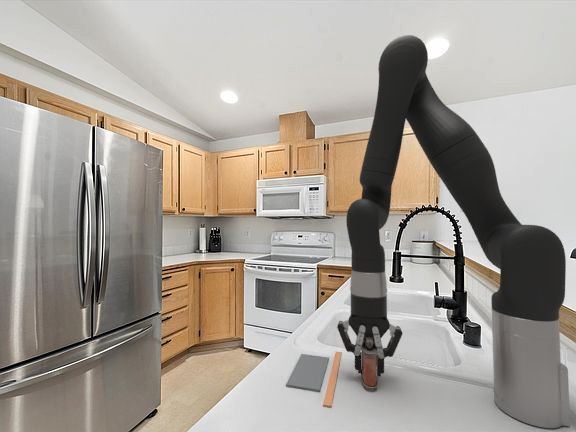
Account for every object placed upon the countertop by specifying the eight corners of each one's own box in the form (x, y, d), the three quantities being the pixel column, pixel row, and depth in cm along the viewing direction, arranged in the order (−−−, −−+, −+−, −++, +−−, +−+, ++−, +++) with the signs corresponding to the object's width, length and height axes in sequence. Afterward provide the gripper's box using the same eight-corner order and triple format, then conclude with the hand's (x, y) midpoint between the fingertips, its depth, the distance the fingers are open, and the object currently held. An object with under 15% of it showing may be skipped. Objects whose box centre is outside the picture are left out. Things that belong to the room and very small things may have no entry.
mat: (328, 359, 67) (328, 357, 67) (319, 392, 54) (319, 390, 54) (301, 355, 69) (301, 353, 69) (286, 386, 56) (286, 384, 56)
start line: (341, 353, 70) (341, 352, 70) (331, 407, 49) (331, 405, 49) (335, 352, 71) (335, 351, 71) (323, 406, 50) (323, 404, 50)
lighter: (379, 392, 54) (379, 341, 54) (362, 390, 54) (361, 340, 55) (375, 371, 61) (374, 326, 62) (359, 370, 62) (359, 325, 63)
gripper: (401, 289, 60) (402, 368, 60) (337, 286, 64) (337, 360, 63) (406, 298, 53) (407, 388, 52) (333, 293, 57) (334, 377, 56)
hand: (369, 372), depth 58 cm, fingers closed on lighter, 3 cm apart
